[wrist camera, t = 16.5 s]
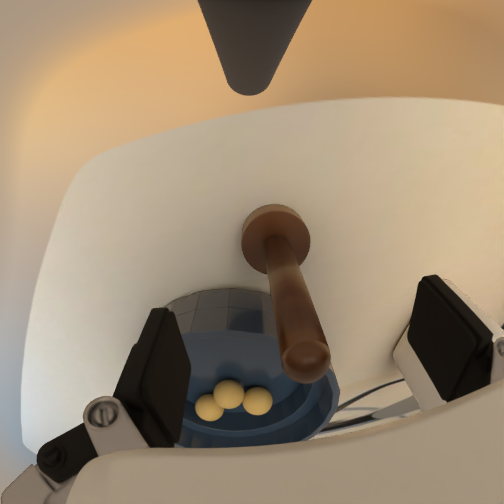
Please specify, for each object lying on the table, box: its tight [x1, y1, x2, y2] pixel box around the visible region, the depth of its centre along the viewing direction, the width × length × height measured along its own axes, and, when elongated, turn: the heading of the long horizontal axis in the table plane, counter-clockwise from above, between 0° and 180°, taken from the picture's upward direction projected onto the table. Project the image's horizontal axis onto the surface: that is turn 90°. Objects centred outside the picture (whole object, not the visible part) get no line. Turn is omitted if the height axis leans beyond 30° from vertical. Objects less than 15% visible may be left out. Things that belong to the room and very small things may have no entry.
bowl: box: [164, 288, 340, 448], centre depth 24 cm, size 18×18×6 cm
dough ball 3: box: [242, 387, 273, 415], centre depth 27 cm, size 3×3×3 cm
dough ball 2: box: [213, 380, 244, 409], centre depth 26 cm, size 3×3×3 cm
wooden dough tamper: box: [242, 204, 331, 384], centre depth 16 cm, size 5×5×14 cm
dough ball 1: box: [195, 394, 224, 421], centre depth 27 cm, size 3×3×3 cm
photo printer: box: [393, 279, 504, 412], centre depth 20 cm, size 10×4×12 cm, turn 162°
